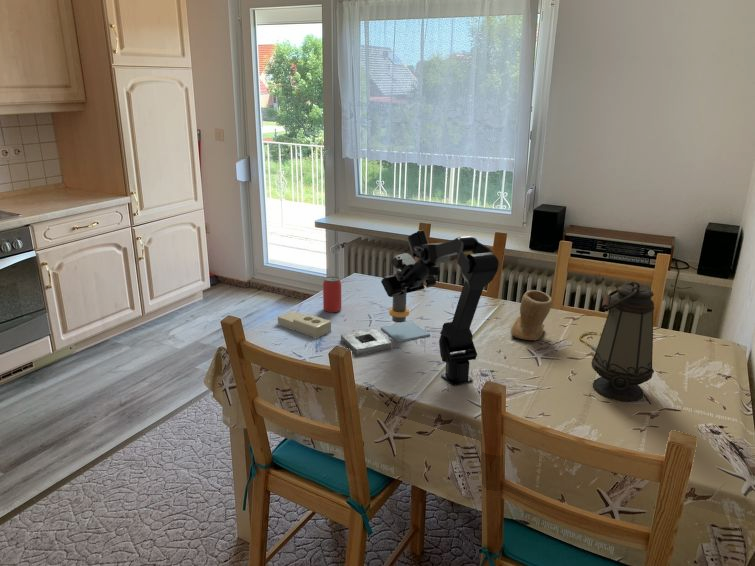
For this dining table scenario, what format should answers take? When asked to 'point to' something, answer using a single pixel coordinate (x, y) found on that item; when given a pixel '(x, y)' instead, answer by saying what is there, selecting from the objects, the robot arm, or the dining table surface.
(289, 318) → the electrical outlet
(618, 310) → the lantern
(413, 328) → the mat
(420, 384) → the dining table surface
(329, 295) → the beer can
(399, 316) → the plug
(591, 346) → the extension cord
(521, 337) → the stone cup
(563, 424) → the dining table surface
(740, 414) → the dining table surface
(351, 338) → the socket block
